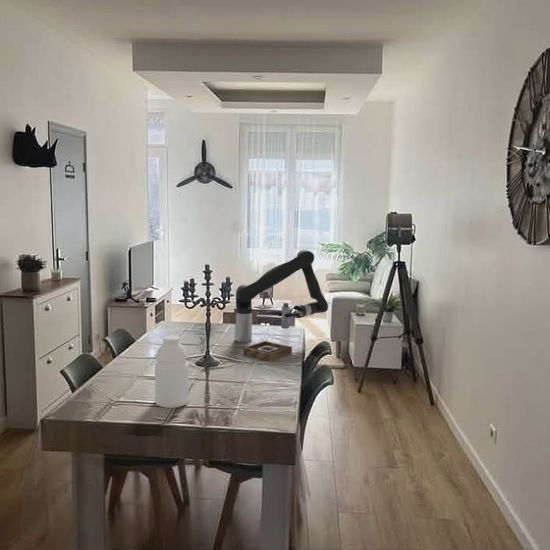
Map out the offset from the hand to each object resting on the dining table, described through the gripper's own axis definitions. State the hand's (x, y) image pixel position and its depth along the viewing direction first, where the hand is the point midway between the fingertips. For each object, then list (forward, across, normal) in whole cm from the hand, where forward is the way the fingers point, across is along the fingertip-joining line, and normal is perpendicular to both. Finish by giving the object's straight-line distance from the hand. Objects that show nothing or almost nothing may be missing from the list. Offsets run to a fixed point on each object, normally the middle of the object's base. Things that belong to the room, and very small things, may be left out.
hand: (282, 315), depth 305 cm
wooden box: (+12, +1, +20) cm, 23 cm away
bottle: (+91, +21, +20) cm, 96 cm away
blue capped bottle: (-3, 0, +8) cm, 8 cm away
